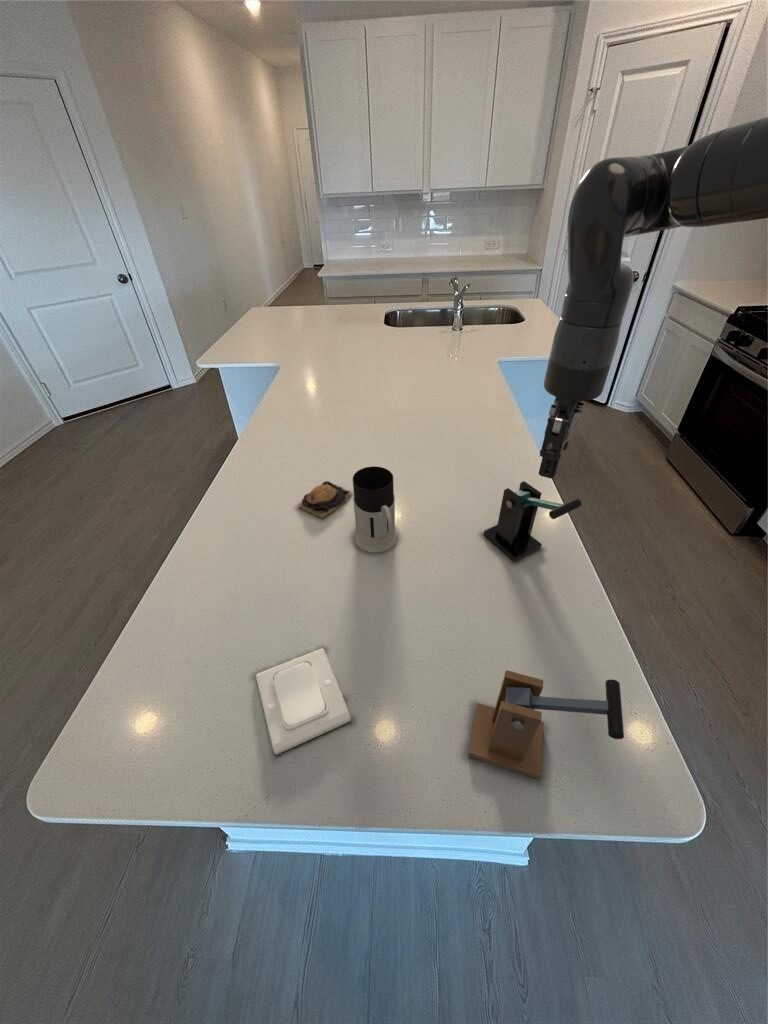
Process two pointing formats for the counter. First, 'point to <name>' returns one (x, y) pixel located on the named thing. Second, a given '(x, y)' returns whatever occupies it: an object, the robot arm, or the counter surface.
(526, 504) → the far lever
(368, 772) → the counter surface
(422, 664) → the counter surface
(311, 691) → the light switch
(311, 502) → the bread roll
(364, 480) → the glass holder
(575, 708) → the near lever
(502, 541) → the far bracket
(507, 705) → the near bracket
